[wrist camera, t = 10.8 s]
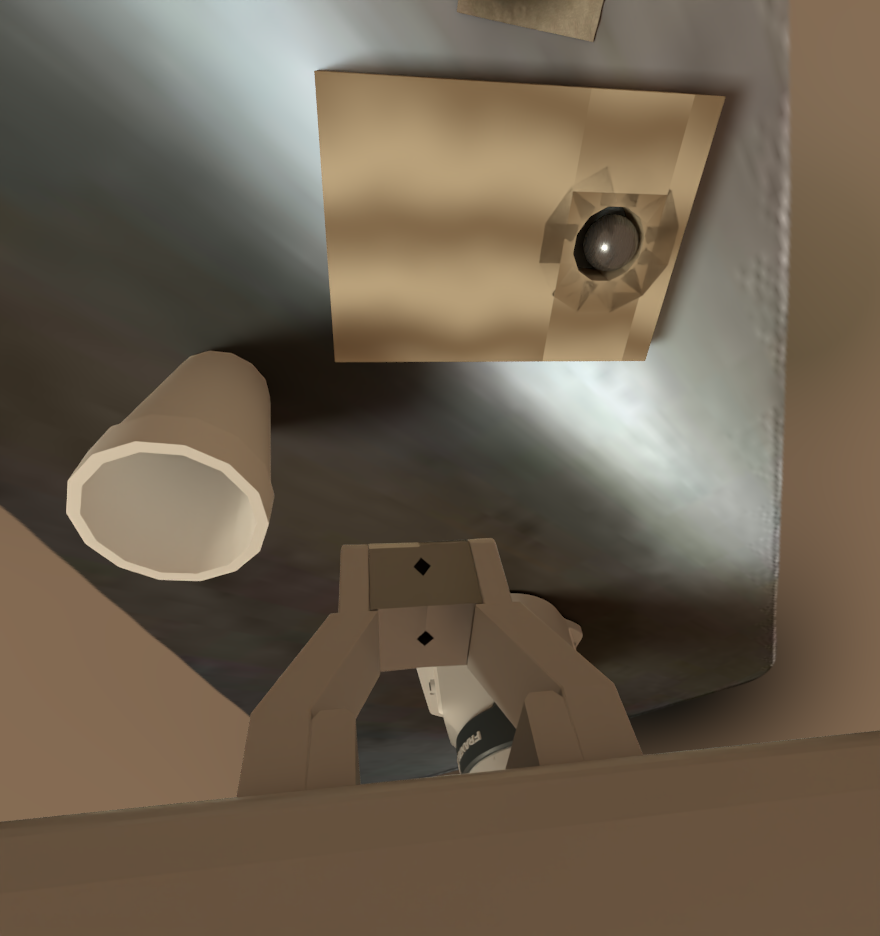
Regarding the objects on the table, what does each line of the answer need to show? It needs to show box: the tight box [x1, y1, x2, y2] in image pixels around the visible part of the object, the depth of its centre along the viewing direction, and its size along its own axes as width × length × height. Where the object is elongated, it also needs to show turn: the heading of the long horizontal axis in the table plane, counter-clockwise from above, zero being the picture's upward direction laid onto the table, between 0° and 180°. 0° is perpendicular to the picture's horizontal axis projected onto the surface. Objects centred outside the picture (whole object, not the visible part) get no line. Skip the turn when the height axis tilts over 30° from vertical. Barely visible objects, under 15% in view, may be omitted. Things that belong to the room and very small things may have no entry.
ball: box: [583, 214, 638, 271], centre depth 33 cm, size 3×3×3 cm
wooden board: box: [314, 70, 725, 362], centre depth 32 cm, size 15×21×2 cm
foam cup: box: [66, 351, 274, 581], centre depth 32 cm, size 10×9×13 cm
